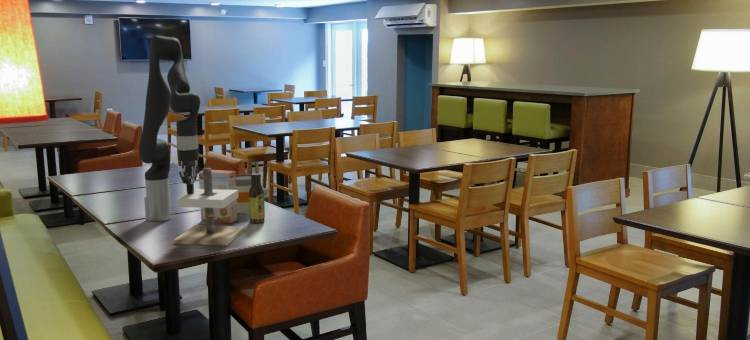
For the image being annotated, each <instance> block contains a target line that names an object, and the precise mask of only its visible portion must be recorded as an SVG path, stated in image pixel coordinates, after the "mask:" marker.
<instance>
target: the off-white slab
mask: <svg viewBox="0 0 750 340" xmlns="http://www.w3.org/2000/svg"><path fill="white" fill-rule="evenodd" d="M212 190H213V196H204V189H200V188H194V193H193V194H187V193H185V194H183V195H182V196H180V197H178V198H176V205H177V206H176V207H177V208H201V207H202V208H224V207H225V206H227V205H228V204H230V203H231V202H233V201H234V200H236V199H237V198H239V196H238V190H221V189H212Z"/></svg>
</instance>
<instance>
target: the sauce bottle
mask: <svg viewBox="0 0 750 340" xmlns="http://www.w3.org/2000/svg"><path fill="white" fill-rule="evenodd" d="M250 175H251V179H252V183H251V184H252V186H251V187H250V189H249V213H248V216H249V217H248V218H249V222H250V223H251V224H260V223H264V222H265V217H266V215H265V214H266V213H265V211H266V210H265V207H266V206H265V192H264V188H263V187H262V182H261V181H262V180H261V179H262V173H257V172H256V173H251V174H250Z"/></svg>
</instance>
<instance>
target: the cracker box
mask: <svg viewBox="0 0 750 340" xmlns="http://www.w3.org/2000/svg"><path fill="white" fill-rule="evenodd" d="M211 170H212V189H221V190H236V175H237V174H236V170H222V169H211ZM198 181H199V183H198V184H199V189H204V178H203V170H200V171H198ZM213 210H214V223H224V224H232V223H234V222H237V221H238V220H239V219H238V213H237V199H236V200H234V201H233V202H231V203H230V204H228V205H227V206H225V207H224V208H213ZM200 215H201V216H200V217H201V222H206V216H205V208H202V207H200Z"/></svg>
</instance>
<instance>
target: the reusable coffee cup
mask: <svg viewBox="0 0 750 340" xmlns="http://www.w3.org/2000/svg"><path fill="white" fill-rule="evenodd" d="M251 183H252V179H251V174H247V173H245V174H236V190H238V196H239V198H237V214H238V213H239V214H247V213H248V214H249V189H250V187H251V186H252V184H251Z"/></svg>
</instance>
